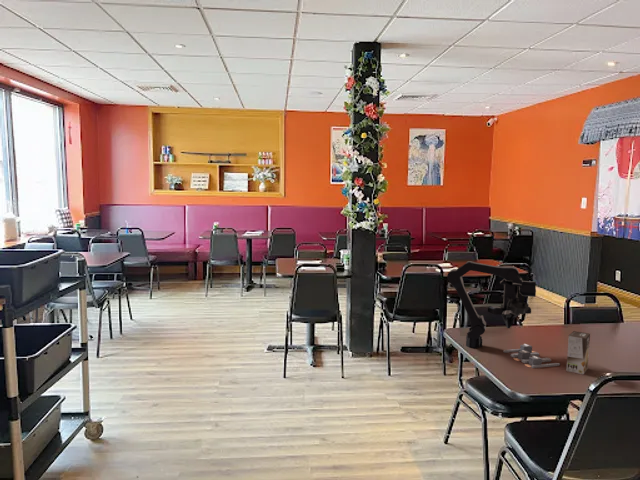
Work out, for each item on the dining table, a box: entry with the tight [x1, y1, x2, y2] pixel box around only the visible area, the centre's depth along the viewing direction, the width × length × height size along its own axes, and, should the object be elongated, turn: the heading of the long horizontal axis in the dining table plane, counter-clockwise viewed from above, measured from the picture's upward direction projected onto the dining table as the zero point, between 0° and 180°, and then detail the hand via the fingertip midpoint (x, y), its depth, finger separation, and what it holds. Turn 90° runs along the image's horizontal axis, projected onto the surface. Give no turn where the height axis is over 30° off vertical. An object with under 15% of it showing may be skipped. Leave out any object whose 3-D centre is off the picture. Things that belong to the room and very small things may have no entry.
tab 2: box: [517, 350, 531, 361], centre depth 201 cm, size 4×3×4 cm
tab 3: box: [528, 356, 543, 366], centre depth 194 cm, size 4×3×4 cm
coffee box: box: [565, 330, 591, 375], centre depth 189 cm, size 9×6×16 cm
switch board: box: [503, 348, 561, 369], centre depth 202 cm, size 16×20×2 cm
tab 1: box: [519, 343, 533, 352], centre depth 210 cm, size 4×3×4 cm
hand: (508, 328), depth 211 cm, fingers closed
